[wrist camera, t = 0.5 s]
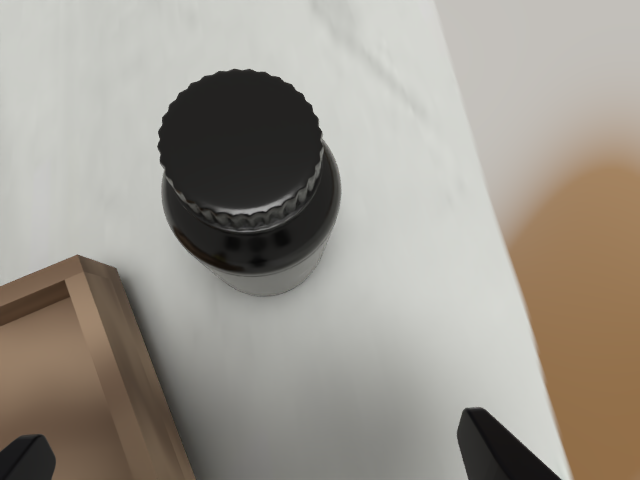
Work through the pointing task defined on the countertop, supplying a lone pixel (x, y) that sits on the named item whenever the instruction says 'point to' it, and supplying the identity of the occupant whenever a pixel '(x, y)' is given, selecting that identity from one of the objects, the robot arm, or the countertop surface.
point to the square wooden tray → (84, 377)
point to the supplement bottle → (248, 180)
